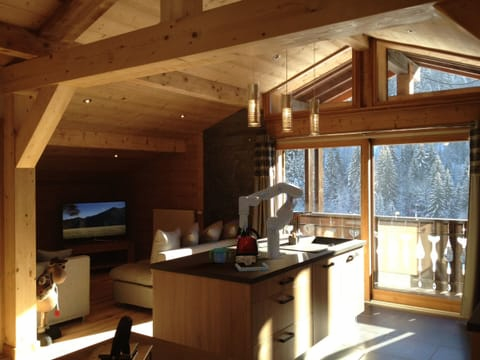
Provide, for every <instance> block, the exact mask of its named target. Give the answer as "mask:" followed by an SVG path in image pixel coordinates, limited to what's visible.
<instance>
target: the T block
mask: <svg viewBox="0 0 480 360" xmlns="http://www.w3.org/2000/svg"><path fill="white" fill-rule="evenodd" d="M256 258H257V257H256V255H239V256H237V255H236V256H235V262H236V264H240V263H244V265H245V266H252V265H253V264H252V263H256V262H257V259H256Z"/></svg>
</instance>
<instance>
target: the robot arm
mask: <svg viewBox="0 0 480 360" xmlns="http://www.w3.org/2000/svg"><path fill="white" fill-rule="evenodd" d="M281 194H286V200H285V202H283V204H282V205H281V206H279V208H278V209H277V211H276V216H270V217H268V218H267V219H266V222H265V223H266V224H265V227H266V235H267V237H266V242H267V244H266V248H267V249H266V252H267V253H266V255H265V258H266V259H269V260H270V259H271V260H276V259H277V260H279V259H282V257H283V256H286V254H287V253H286V252H281V251H280V249H281V247H280V242H281V241H280V239H281V238H280V231H281V230H283V229H285V227H286V226H288V224H289V223H290V222H291V220H292V219H293V218H294V214H295V213H294V209H295V208H296V206H297V199H301V198H303V195H304V191H303V189H302V188H301V187H299V186H297V185H294V184H292V183H289V182H278V183H276V184H273V185H270V186H269V187H266V188H264V189H262V190H259V191H256V192H254V193H251V194H249V195H247V196H246V195H245V196H238V197H239V198H238V215H239V225H238V226H239V228H240V229H241V237H242V238H247V228H248V218H249V217H248V216H249V215H250V206H251V207H257V206H259V204H260V203H261V201H267V200H271V199H273V198H275V197H278V196H279V195H281Z"/></svg>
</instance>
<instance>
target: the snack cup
mask: <svg viewBox="0 0 480 360" xmlns="http://www.w3.org/2000/svg"><path fill="white" fill-rule="evenodd" d="M227 252H228V253H229V258H231V256H232V254H231V250H230V249H228V248H227V247H214V248H212V249H211V250H210V251H209V259H211V253H213V256H214V257H213V258H214V263H216V264H225V263H226V260H227V259H226V258H227Z"/></svg>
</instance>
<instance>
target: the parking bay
mask: <svg viewBox="0 0 480 360" xmlns="http://www.w3.org/2000/svg"><path fill="white" fill-rule="evenodd" d="M261 265H262V266H254V267H241V266H240V265H239V263H235V268H236V270H238V272H257V271H258V272H259V271H270V267H269V265H268V264H266V263H265V262H262V263H261Z"/></svg>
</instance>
